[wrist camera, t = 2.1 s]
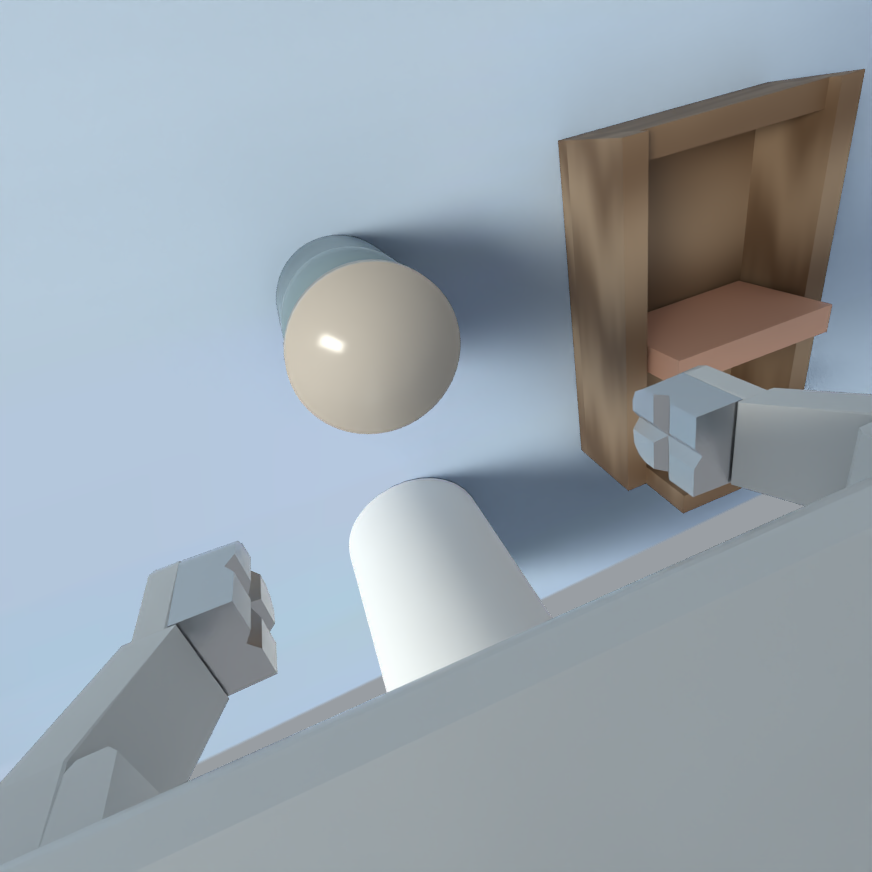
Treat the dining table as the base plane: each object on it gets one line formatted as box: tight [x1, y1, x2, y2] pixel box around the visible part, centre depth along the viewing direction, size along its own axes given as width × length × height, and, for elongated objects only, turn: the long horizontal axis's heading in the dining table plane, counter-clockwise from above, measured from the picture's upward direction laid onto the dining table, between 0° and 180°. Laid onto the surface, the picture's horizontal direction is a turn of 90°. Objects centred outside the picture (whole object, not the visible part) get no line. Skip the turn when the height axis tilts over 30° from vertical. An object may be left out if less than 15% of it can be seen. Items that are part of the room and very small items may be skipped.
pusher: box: [647, 281, 832, 380], centre depth 23 cm, size 1×7×5 cm, turn 103°
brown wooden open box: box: [558, 69, 865, 513], centre depth 22 cm, size 15×10×7 cm, turn 12°
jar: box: [276, 235, 460, 434], centre depth 18 cm, size 5×5×6 cm
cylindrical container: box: [349, 478, 553, 692], centre depth 17 cm, size 7×7×25 cm
